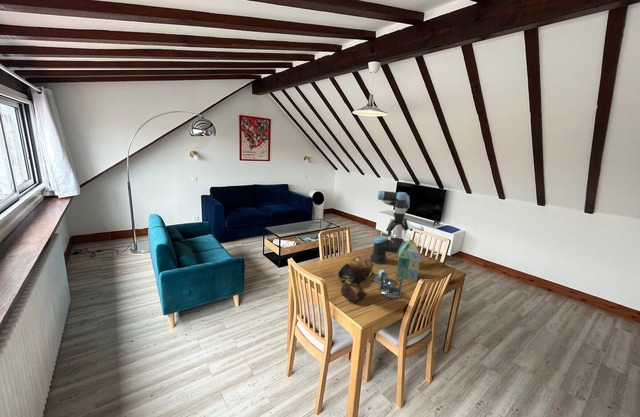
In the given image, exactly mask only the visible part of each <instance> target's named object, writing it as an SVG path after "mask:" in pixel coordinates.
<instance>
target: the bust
mask: <svg viewBox="0 0 640 417" xmlns="http://www.w3.org/2000/svg"><path fill="white" fill-rule="evenodd" d="M373 263H374V262H372V261H371V260H370V258H368V257H366V256H361V255H358V256H355V257H353V258H352V259H351V261H350V262H349V272H350V273H351V276H350V278H349V279H348V280H344V282H343V284H342V286H341V289H340V293H341V295H342V297H344V298H345V299H346V300H347V301H348V302H349V303H351V304H353V305H356V304H357V303H359V302H361V301H363V300H364V299H365V298H366V297H367V294H368V293H366V291H364V289H363V287H362V286H361V283H363V282H364V283H365V282H366V281H367V280H368V279H369V278H370V277H369V275H370V272H371V271H372V270H373V267H374V264H373ZM368 277H369V278H368Z"/></svg>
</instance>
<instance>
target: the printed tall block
mask: <svg viewBox="0 0 640 417" xmlns="http://www.w3.org/2000/svg"><path fill="white" fill-rule="evenodd" d="M421 257H422V256H421V252H420V249H419V248H418V246H417V243H416V242H415V240H414V239H411V238H410V239H408V240H407V241H405V244H404V245H403V246H402V247H401V248H400V249H399V253H398V257H397V258H398V261H397V262H398V263H397V269H396V279H397V278H398V277H399V278H402V279H403V280H408V281H413V282H417V280H418V275H419V274H418V273H419V269H420V262H421V261H422V258H421Z"/></svg>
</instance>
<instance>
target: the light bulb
mask: <svg viewBox="0 0 640 417" xmlns="http://www.w3.org/2000/svg"><path fill="white" fill-rule="evenodd" d="M382 272H386V273H388V271H387V270H385V269H379V270H378V274H377V275H378V280H379V281H381V276H382ZM387 278H388V275H387V276H384V283H385V281H386V279H387Z"/></svg>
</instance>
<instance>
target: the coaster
mask: <svg viewBox="0 0 640 417" xmlns="http://www.w3.org/2000/svg"><path fill="white" fill-rule="evenodd" d="M389 280H393V281H394V279H393V278H389V277H387V279H386V281H385V283H384V284H383V286H384V285H388V281H389ZM370 281H371V282H373V283H376V284H377V285H380V284H381V281H379V280H378V274H377V275H375V276H374V277H373V278H371V279H370Z"/></svg>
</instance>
